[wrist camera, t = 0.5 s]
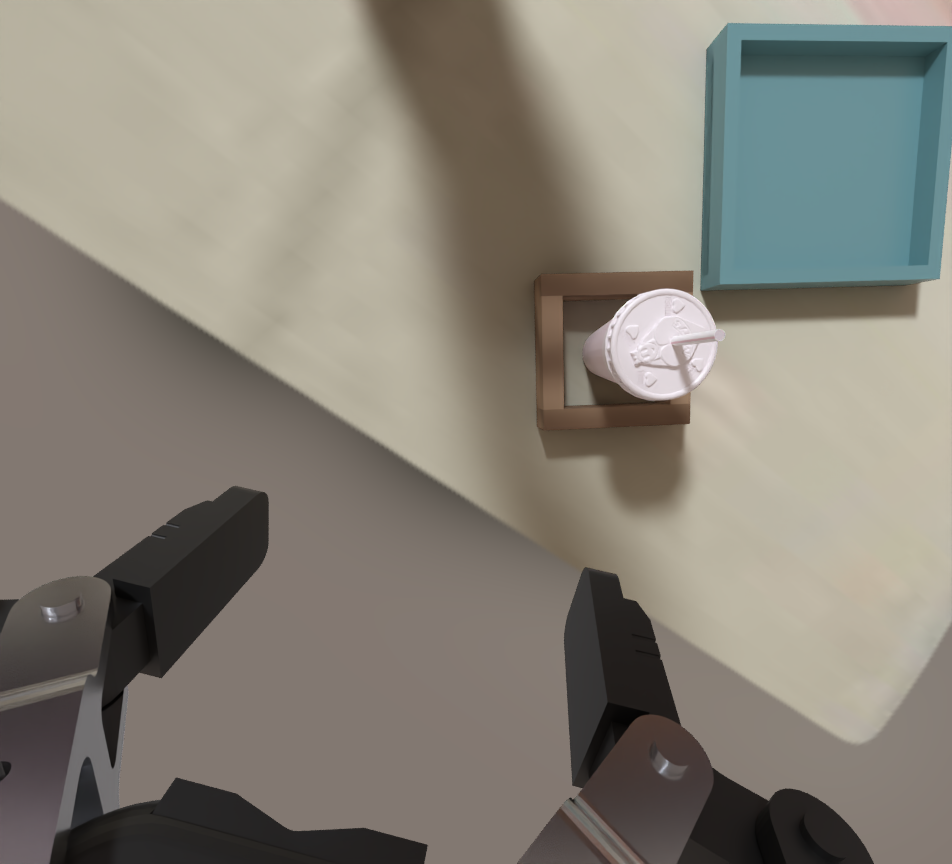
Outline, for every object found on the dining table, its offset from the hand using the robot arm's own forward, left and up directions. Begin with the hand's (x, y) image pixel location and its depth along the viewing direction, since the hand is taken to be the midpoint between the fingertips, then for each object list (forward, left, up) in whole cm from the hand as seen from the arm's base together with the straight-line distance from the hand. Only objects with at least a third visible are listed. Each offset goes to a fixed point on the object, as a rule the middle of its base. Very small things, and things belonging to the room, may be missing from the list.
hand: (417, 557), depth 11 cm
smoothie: (-6, +14, -24) cm, 29 cm away
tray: (-19, +30, -24) cm, 43 cm away
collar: (-6, +14, -24) cm, 28 cm away
